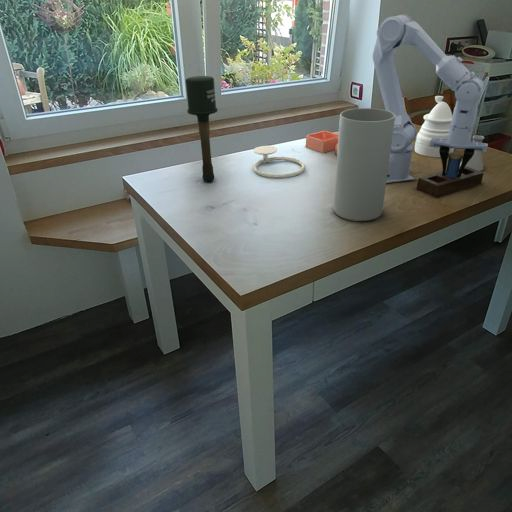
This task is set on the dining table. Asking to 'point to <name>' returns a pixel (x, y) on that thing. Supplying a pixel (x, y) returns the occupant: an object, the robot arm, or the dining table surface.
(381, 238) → the dining table surface
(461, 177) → the holder
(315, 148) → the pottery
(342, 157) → the cylinder vase
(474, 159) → the flask
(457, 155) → the capped tube
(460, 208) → the dining table surface
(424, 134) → the honey pot
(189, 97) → the stick grenade
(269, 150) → the hand towel holder
